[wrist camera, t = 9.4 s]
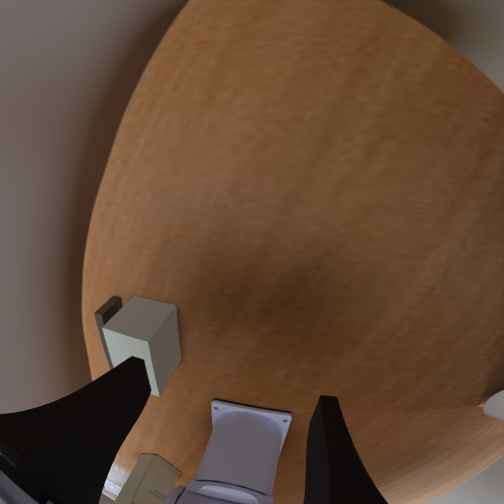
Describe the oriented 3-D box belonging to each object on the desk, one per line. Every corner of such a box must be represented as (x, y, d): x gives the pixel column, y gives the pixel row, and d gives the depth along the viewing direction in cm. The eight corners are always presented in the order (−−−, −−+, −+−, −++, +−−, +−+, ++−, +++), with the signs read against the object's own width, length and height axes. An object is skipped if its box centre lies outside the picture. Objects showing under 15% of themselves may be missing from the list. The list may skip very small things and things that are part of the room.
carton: (176, 304, 22) (147, 342, 18) (181, 358, 25) (159, 396, 20) (133, 294, 23) (100, 327, 18) (142, 347, 25) (117, 381, 21)
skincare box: (181, 471, 36) (158, 526, 25) (164, 470, 38) (140, 521, 27) (156, 453, 35) (127, 510, 24) (139, 452, 36) (111, 504, 25)
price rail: (135, 363, 26) (122, 382, 23) (126, 360, 26) (112, 378, 24) (122, 298, 23) (103, 315, 20) (111, 295, 23) (92, 312, 21)
